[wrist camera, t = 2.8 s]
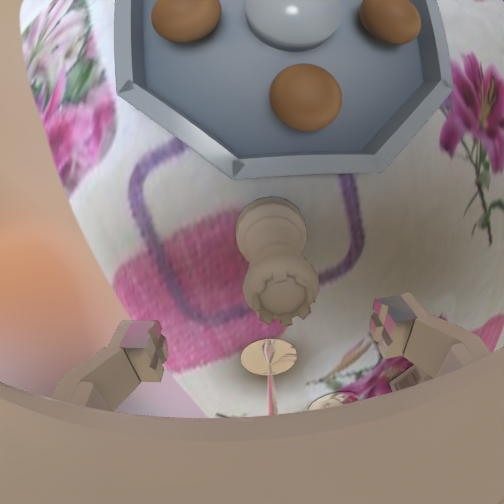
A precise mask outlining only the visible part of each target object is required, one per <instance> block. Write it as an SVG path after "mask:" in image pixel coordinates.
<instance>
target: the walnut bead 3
mask: <svg viewBox="0 0 504 504" xmlns="http://www.w3.org/2000/svg"><path fill="white" fill-rule="evenodd" d="M359 13H360V18H361V21H362V23H363V25H364V27H365V28H366V29H367V31H368V32H369V33H370V34H371V35H372V36H374V37H375V38H377V39H378V40H380V41H382V42H385V43H388V44H393V45H402V44H406V43H409V42H411V41H413V40H414V39H415V38H416V37H417V36H418V34H419V32H420V29H421V18H420V15H419V13H418V11H417V9H416V8H415V6H414V5H413V4H412V3H411V2H410V1H409V0H363V1H362V3H361V5H360V12H359Z"/></svg>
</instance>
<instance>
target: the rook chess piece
mask: <svg viewBox="0 0 504 504" xmlns="http://www.w3.org/2000/svg"><path fill="white" fill-rule="evenodd" d="M235 233H236V241H237V246H238V249H239V251H240V252H241V253H242V255H243V256H244V258H245V259H246V260H247V261H248V262H250V263H249V267H248V273H247V274H246V275H245V278H244V282H243V286H242V291H243V295H244V300H245V302H246V303H247V304H248V306H249V307H250V308H251V309H252V310H253V312H256V313H258V314H260V321H262V322H264V323H266V324H268V325H270V324H271V322H272V321H273V319H277V320H280V323H281V327H284V326H290V325H293V324H292V319H291V318H293V317H295V316H297V315H299V317H300V318H302V319H303V320H304V319H305V318H306V317H307V316H308V315H309V314H310V313H311V310H310V307H309V306H310V305H311V304H312V303H313V302H315V298H316V296H317V293H318V291H319V277H318V275H317V273H316V271H315V270H314V268H313V266H312V265H311V264H310V263H308V262H307V261H306V259H305V257H304V256H303V254H302V252H303V249H304V246H305V243H306V240H307V232H306V224H305V222H304V218H303V217H302V215H301V213H300V211H299V210H298V208H297V207H295V206H294V205H293V204H291V203H290V202H288V201H287V200H284V199H280V198H276V197H268V198H262V199H257V200H256V201H254V202H252V203H251V204H249V205H248V206H246V207H245V208H244V210H243V211H242V212H241V214H240V215H239V217H238V219H237V223H236V228H235Z"/></svg>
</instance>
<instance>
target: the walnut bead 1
mask: <svg viewBox="0 0 504 504" xmlns="http://www.w3.org/2000/svg"><path fill="white" fill-rule="evenodd" d="M221 13H222V9H221V4H220V1H219V0H157V1H156V3H155V5H154V7H153V9H152V13H151V21H152V25H153V27H154V29H155V31H156V32H157V33H158V34H159V35H160V36H161V37H163V38H164V39H166V40H168V41H171V42H175V43H190V42H194V41H197V40H200V39H202V38H204V37H206V36H207V35H208V34H210V33H211V32H212V31H213V30H214V29H215V28H216V26H217V25H218V23H219V21H220V18H221Z"/></svg>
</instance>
